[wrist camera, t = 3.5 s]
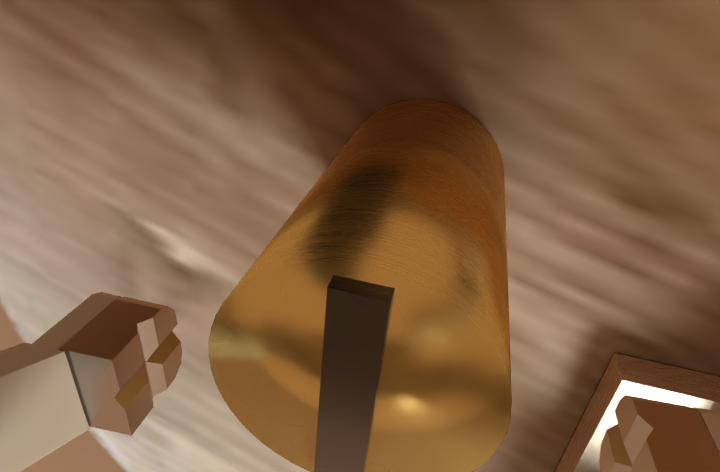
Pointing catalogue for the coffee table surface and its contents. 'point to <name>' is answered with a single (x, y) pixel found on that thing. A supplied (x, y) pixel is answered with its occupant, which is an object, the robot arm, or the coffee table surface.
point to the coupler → (380, 306)
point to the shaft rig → (638, 381)
